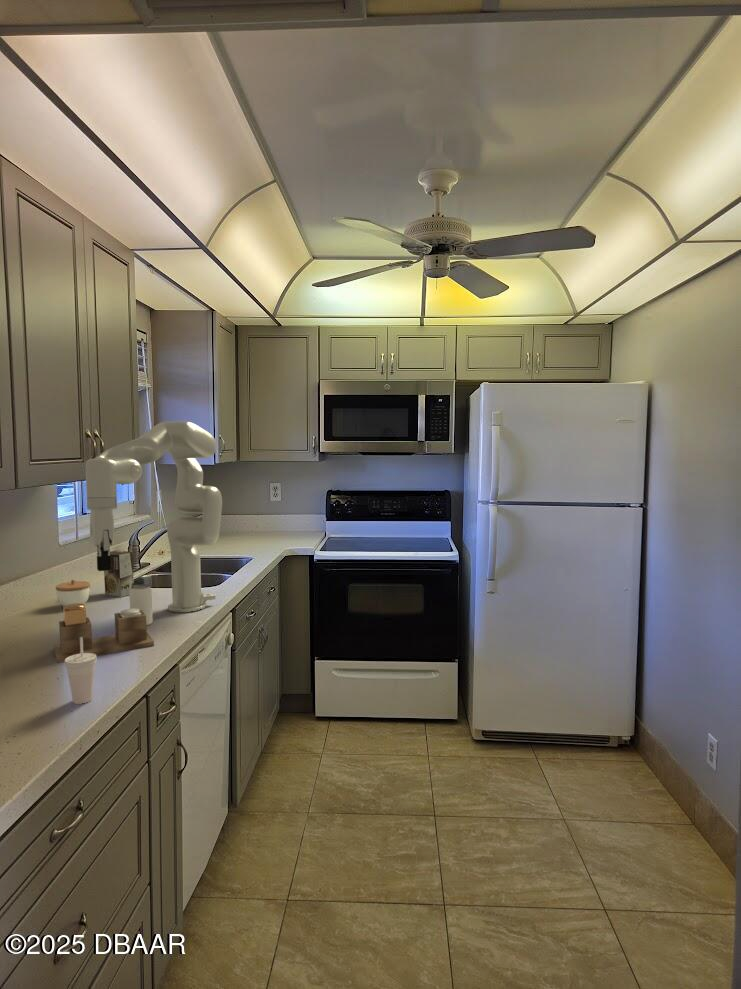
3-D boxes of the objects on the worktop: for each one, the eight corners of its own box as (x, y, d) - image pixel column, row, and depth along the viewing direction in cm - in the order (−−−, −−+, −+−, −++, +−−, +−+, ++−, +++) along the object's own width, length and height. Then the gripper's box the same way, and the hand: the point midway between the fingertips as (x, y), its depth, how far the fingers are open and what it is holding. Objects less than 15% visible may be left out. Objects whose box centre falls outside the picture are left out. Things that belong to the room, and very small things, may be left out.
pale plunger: (138, 633, 170) (137, 607, 169) (142, 637, 166) (141, 611, 165) (120, 636, 167) (119, 610, 167) (123, 641, 163) (122, 614, 162)
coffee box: (135, 593, 223) (133, 551, 221) (120, 597, 217) (119, 554, 216) (118, 591, 227) (116, 549, 225) (104, 594, 221) (102, 552, 220)
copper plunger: (84, 629, 162) (83, 602, 162) (86, 634, 158) (85, 606, 157) (64, 632, 160) (63, 605, 159) (66, 637, 155) (64, 609, 155)
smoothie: (104, 694, 131) (101, 633, 130) (88, 707, 125) (85, 643, 124) (76, 694, 132) (73, 633, 131) (59, 706, 126) (56, 643, 124)
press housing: (145, 633, 174) (144, 606, 174) (154, 645, 164) (153, 616, 163) (54, 648, 162) (52, 619, 161) (57, 662, 151) (55, 631, 151)
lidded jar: (95, 606, 205) (93, 580, 204) (61, 612, 198) (60, 585, 197) (85, 600, 213) (84, 575, 212) (53, 606, 206) (51, 579, 205)
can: (145, 619, 189) (144, 583, 188) (156, 623, 185) (155, 586, 184) (126, 624, 184) (125, 586, 183) (137, 628, 180) (135, 590, 179)
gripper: (82, 502, 164) (85, 567, 165) (91, 506, 152) (93, 576, 153) (111, 501, 168) (113, 564, 169) (122, 505, 156) (124, 573, 157)
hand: (104, 569), depth 161 cm, fingers closed
